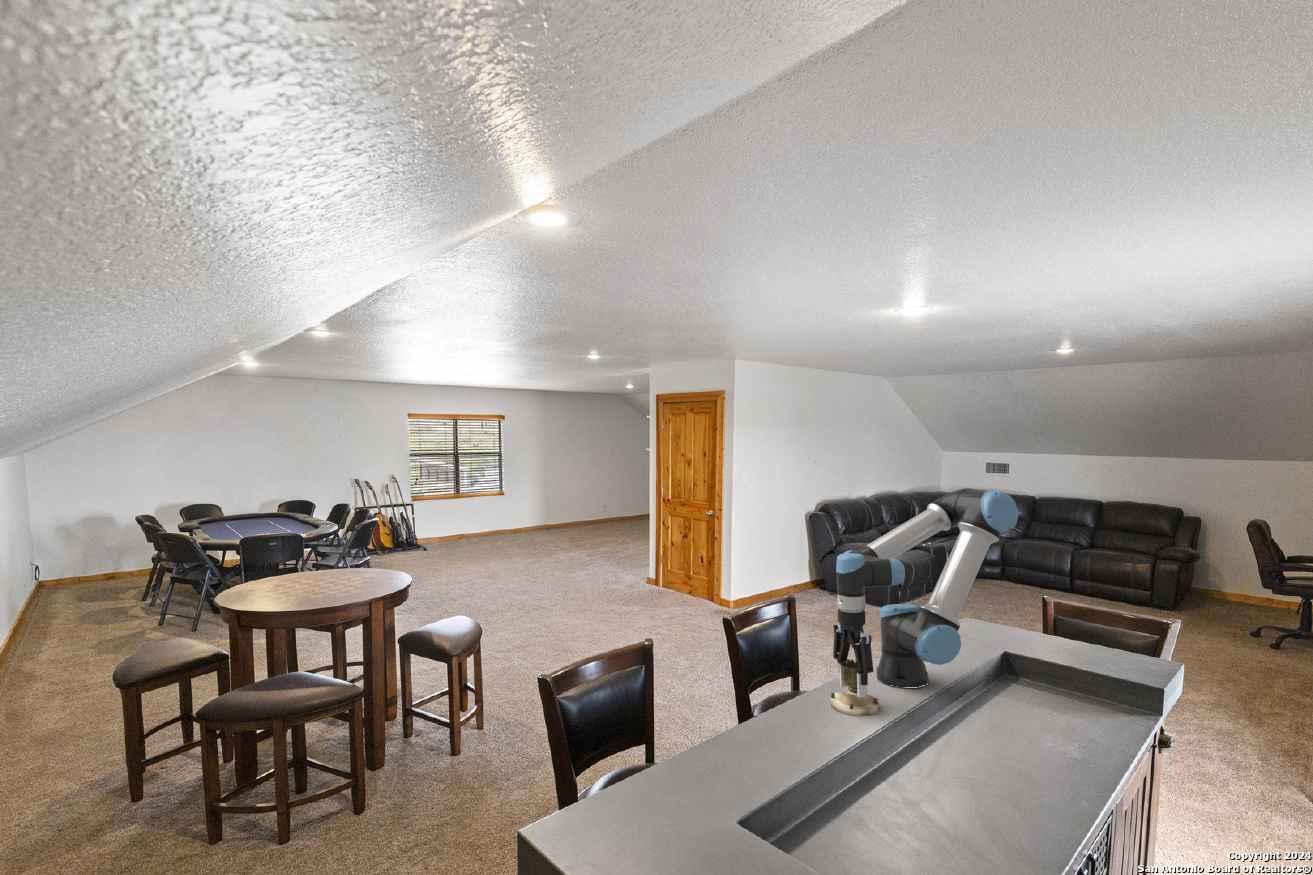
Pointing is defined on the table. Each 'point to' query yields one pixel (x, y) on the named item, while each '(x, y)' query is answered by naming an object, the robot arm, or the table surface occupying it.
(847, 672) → the ornate scalloped bell shade
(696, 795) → the table surface
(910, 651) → the robot arm
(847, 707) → the seat plate
